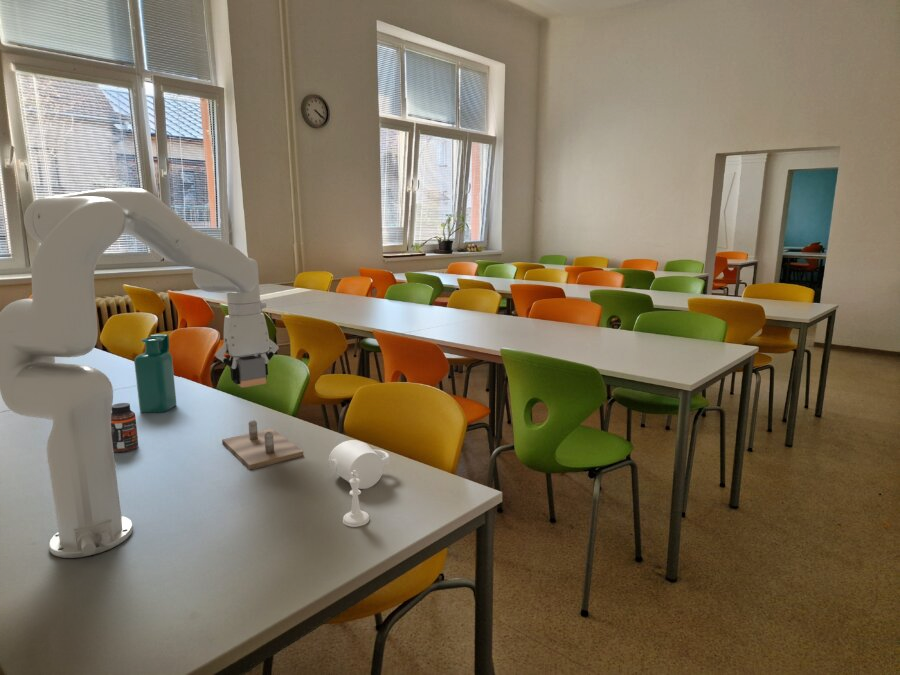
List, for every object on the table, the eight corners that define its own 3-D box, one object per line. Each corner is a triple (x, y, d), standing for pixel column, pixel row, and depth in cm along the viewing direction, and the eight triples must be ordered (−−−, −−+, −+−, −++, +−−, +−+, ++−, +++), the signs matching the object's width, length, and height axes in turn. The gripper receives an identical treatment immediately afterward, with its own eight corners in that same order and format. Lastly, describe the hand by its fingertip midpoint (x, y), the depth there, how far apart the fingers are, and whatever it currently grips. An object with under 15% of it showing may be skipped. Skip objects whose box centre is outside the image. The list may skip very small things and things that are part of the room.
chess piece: (357, 511, 111) (355, 462, 109) (374, 519, 108) (373, 469, 106) (337, 521, 108) (335, 471, 106) (354, 529, 105) (353, 478, 103)
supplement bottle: (126, 454, 139) (121, 409, 137) (105, 452, 141) (100, 407, 138) (144, 444, 145) (139, 402, 143) (123, 443, 146) (118, 400, 144)
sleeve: (257, 378, 147) (256, 353, 146) (266, 383, 143) (264, 358, 141) (234, 382, 144) (232, 357, 142) (242, 387, 139) (240, 361, 138)
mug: (346, 494, 119) (345, 458, 117) (329, 478, 126) (327, 443, 125) (397, 480, 125) (396, 445, 124) (377, 465, 133) (377, 432, 131)
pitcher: (165, 413, 170) (157, 340, 165) (137, 412, 170) (128, 340, 166) (181, 403, 179) (174, 333, 175) (154, 402, 179) (147, 333, 175)
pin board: (303, 455, 138) (302, 431, 137) (249, 469, 130) (247, 444, 129) (272, 432, 154) (270, 410, 152) (222, 443, 146) (220, 420, 144)
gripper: (273, 304, 148) (277, 372, 151) (203, 311, 137) (209, 383, 141) (284, 307, 142) (289, 378, 145) (212, 315, 131) (219, 390, 135)
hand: (250, 380), depth 143 cm, fingers closed on sleeve, 6 cm apart
